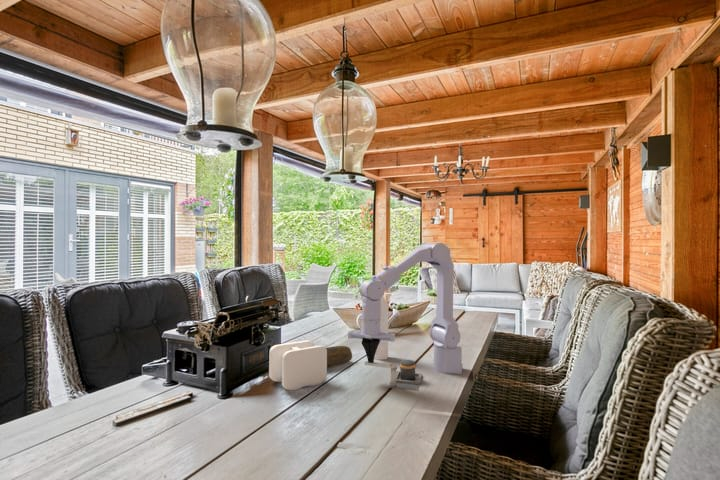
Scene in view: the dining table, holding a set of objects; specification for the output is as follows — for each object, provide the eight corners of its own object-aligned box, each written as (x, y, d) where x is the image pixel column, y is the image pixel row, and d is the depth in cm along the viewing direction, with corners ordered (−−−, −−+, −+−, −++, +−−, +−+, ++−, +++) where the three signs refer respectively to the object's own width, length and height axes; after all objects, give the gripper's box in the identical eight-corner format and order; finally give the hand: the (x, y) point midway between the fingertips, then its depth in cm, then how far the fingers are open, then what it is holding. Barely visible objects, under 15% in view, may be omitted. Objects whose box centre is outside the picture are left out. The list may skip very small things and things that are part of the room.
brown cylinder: (319, 373, 124) (320, 353, 124) (308, 367, 130) (308, 348, 130) (354, 363, 134) (354, 345, 134) (342, 359, 140) (342, 341, 140)
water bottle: (367, 358, 140) (367, 291, 140) (379, 355, 144) (380, 290, 144) (383, 364, 133) (384, 294, 134) (396, 360, 138) (396, 293, 138)
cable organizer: (281, 394, 107) (281, 353, 107) (268, 382, 116) (268, 344, 116) (327, 383, 115) (327, 345, 116) (311, 373, 124) (312, 338, 124)
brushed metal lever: (397, 367, 112) (397, 364, 112) (396, 369, 110) (396, 366, 110) (366, 363, 115) (366, 360, 115) (364, 365, 114) (364, 362, 114)
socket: (422, 376, 122) (422, 358, 122) (418, 393, 108) (418, 372, 108) (394, 373, 124) (394, 356, 124) (387, 390, 110) (387, 370, 110)
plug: (414, 374, 120) (413, 359, 120) (416, 381, 115) (416, 365, 115) (399, 375, 120) (398, 360, 120) (401, 381, 115) (400, 365, 115)
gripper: (345, 320, 114) (344, 364, 114) (392, 323, 110) (392, 369, 110) (351, 315, 121) (351, 357, 121) (396, 318, 117) (395, 361, 117)
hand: (371, 362), depth 116 cm, fingers closed
